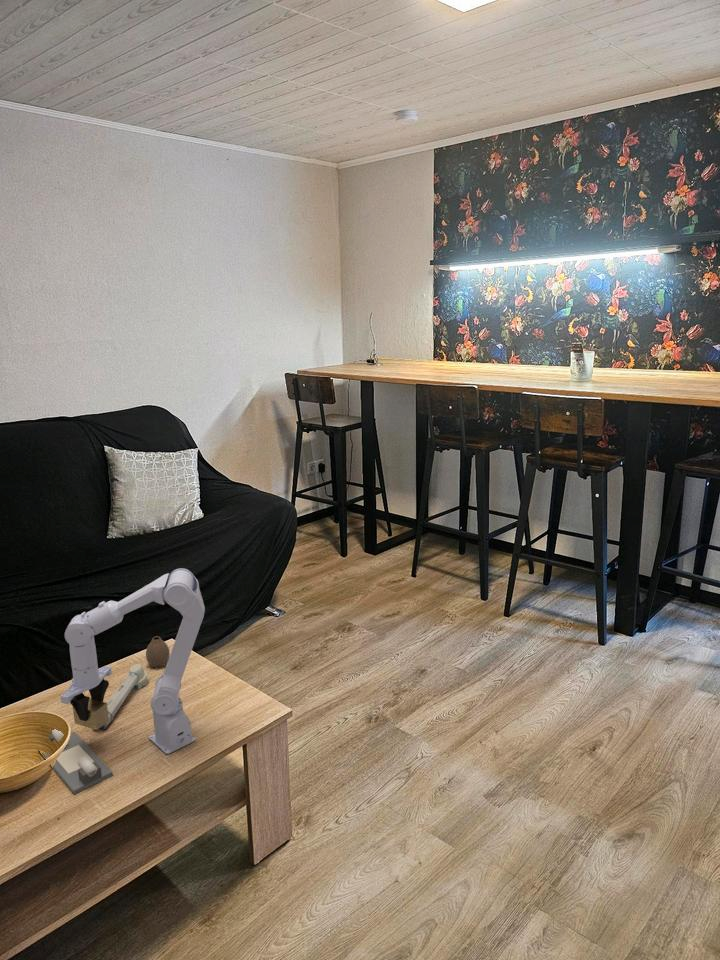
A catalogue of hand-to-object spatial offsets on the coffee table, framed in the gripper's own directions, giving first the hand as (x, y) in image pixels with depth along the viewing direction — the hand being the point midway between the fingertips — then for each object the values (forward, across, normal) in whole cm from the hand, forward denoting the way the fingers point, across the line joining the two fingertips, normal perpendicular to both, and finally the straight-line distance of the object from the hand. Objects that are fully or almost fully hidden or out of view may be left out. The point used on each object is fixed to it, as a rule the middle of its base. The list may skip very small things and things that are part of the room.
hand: (90, 714), depth 165 cm
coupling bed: (+9, +7, 0) cm, 11 cm away
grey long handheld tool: (+10, -18, -7) cm, 21 cm away
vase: (+9, -38, -11) cm, 41 cm away
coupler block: (+2, 0, 0) cm, 2 cm away
